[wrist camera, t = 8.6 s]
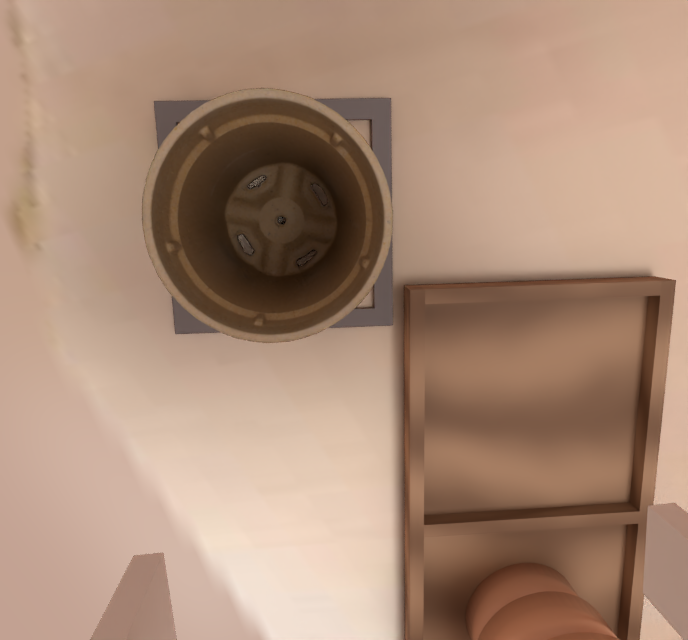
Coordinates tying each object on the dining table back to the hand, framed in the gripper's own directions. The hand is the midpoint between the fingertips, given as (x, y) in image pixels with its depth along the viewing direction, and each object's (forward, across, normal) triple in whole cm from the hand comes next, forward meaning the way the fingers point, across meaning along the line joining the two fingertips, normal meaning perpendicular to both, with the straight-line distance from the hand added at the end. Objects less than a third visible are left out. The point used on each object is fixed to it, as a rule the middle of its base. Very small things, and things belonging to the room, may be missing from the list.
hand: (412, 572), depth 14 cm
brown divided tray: (+16, +10, -9) cm, 21 cm away
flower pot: (+17, -4, +9) cm, 19 cm away
